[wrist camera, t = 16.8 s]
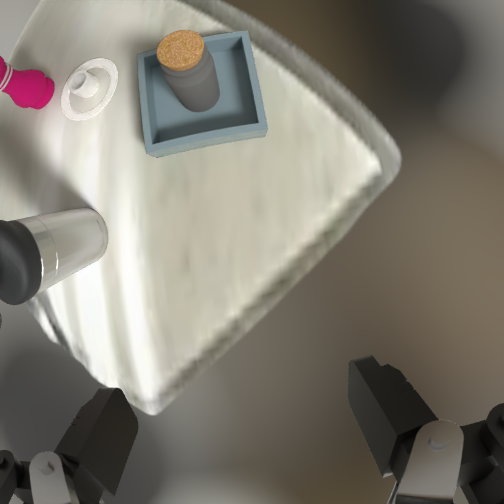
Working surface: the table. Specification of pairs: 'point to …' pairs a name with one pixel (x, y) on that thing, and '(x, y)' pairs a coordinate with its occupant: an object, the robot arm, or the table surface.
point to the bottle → (189, 70)
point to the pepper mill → (25, 86)
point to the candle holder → (87, 87)
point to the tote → (213, 120)
